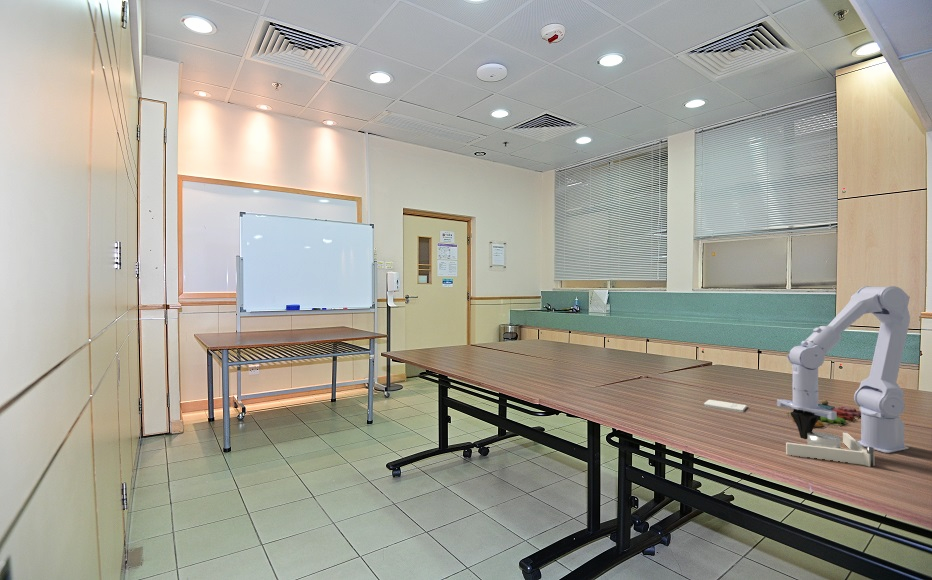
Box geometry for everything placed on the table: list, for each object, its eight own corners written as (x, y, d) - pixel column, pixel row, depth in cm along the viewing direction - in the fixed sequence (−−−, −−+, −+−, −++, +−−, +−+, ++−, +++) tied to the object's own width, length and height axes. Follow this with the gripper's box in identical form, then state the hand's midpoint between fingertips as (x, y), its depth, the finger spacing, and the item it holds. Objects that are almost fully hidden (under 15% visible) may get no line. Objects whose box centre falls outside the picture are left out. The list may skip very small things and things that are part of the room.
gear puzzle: (829, 434, 134) (829, 420, 134) (769, 420, 148) (769, 408, 148) (866, 417, 151) (866, 405, 151) (810, 406, 164) (810, 395, 164)
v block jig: (844, 442, 125) (844, 426, 125) (903, 459, 113) (903, 442, 113) (784, 453, 117) (784, 436, 117) (840, 473, 105) (840, 454, 105)
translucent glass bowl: (818, 444, 124) (818, 430, 124) (847, 453, 117) (847, 438, 117) (801, 448, 121) (801, 433, 121) (829, 457, 115) (829, 441, 115)
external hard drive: (709, 403, 171) (746, 409, 162) (703, 407, 164) (742, 413, 156) (709, 399, 171) (746, 404, 162) (703, 403, 164) (742, 409, 156)
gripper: (769, 385, 129) (769, 431, 129) (823, 396, 115) (823, 448, 115) (786, 383, 131) (786, 429, 131) (841, 394, 118) (841, 445, 118)
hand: (805, 438), depth 124 cm, fingers closed
